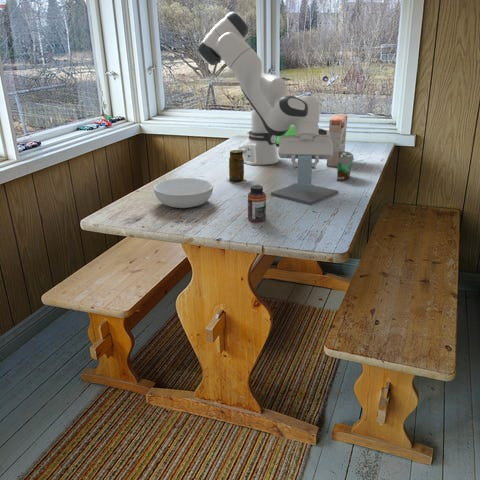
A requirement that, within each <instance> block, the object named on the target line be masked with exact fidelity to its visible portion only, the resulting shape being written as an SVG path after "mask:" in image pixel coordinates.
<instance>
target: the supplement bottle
mask: <svg viewBox="0 0 480 480" xmlns="http://www.w3.org/2000/svg"><path fill="white" fill-rule="evenodd" d="M249 189H250V191H249V192H248V193H247V219H248V221H250V222H252V223H261V222H263V221H265V220H266V219H267V218H266V217H267V195H266V193H265V191H264V186H263V185H262V184H253V185H251V186H250V188H249Z"/></svg>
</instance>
